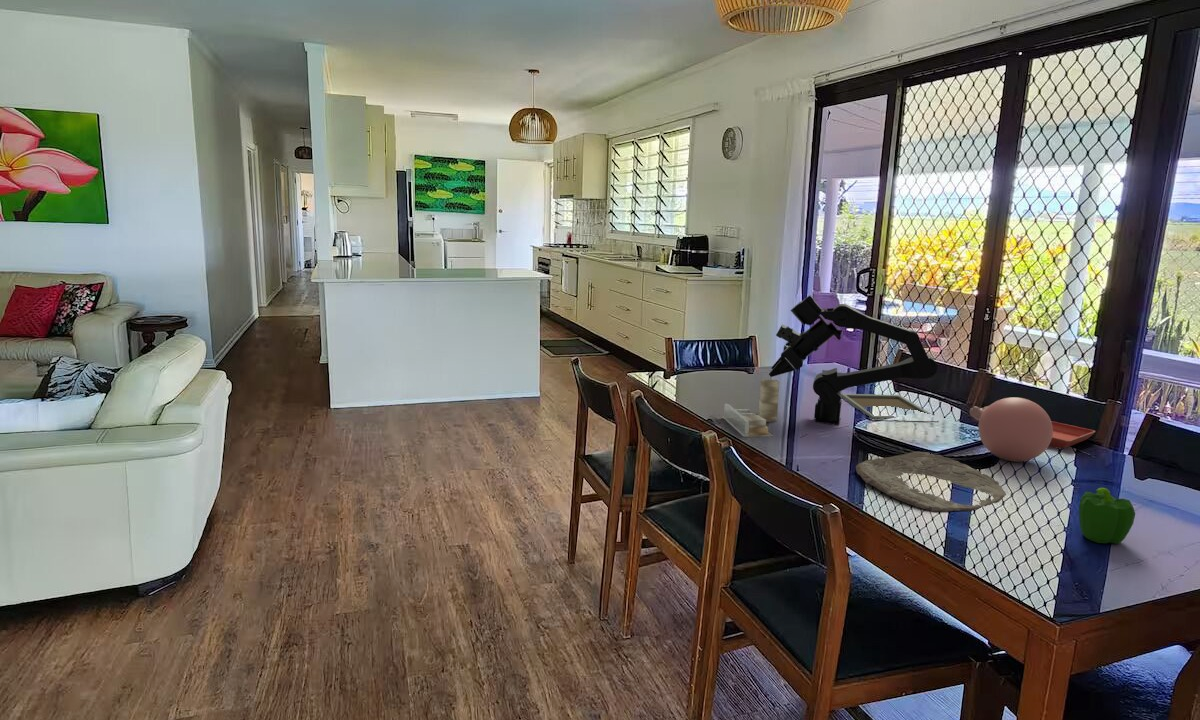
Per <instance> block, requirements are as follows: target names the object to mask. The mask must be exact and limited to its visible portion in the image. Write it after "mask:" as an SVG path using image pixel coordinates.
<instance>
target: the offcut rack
mask: <svg viewBox="0 0 1200 720" xmlns="http://www.w3.org/2000/svg"><path fill="white" fill-rule="evenodd" d="M723 411H724V415H723V416H722V419H723V420H725V421H726V422H727V423H728V424H729V425H731V427H732V428H733V429H734V430H736V431H737V432H738V433H739V434H740V435H741V436H742V437H744V438H747V437H749V438H750V437H774V435H773V434H772V433H770V432H769V431H768V434H758V435H749V421H748V420H747V419H746V418H745V417H744V416H742V415H756V413H754V412H753V413H751V412H750V408H749V409H748V408H743V409H740V408H738V409H736V408H734V407H733V406H732V405H730V404H729V403H724V410H723Z"/></svg>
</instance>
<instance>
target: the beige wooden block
mask: <svg viewBox="0 0 1200 720" xmlns="http://www.w3.org/2000/svg"><path fill="white" fill-rule="evenodd" d="M780 383H781V382H780V380H777V379H760V389H759V403H758V415H759V416H760V417H762V418H764V419H765V420H766V422H777V420H778V411H779V410H778V408H779V407H778V406H779V395H780V394H779V393H780Z"/></svg>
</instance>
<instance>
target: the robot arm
mask: <svg viewBox="0 0 1200 720" xmlns="http://www.w3.org/2000/svg"><path fill="white" fill-rule="evenodd" d="M790 312H791V313H792V314H793V316H795V317H796V319H797V320H798V321H799V322H800V323H801V324H802V325H803V326H805V325H807V326H810V328H809V329H807V330H805V331H801V332H798V331H796V330H794V328H791V327H789V326H787V325H785V324H781V325H780V327H779V329H778V331H777V332H776V334H775V336H776V337H777V338H780V339H783V340H785V341H786V343H785V345H784V346H783V351H782V352H781V353H780V357H778V359H777V360H776V361H775V363H774V364H773V365H772V366H771V371H770V372H769V373H768V375H769V377H770V378H773V377H776V376H779V375H783V374H788V373H791V372H795V371H798V370H800V369H801V368H803V366H804V361H806V360H807V357H809V356H810V355H812V353H814V352H817V351H818V350H819V348H821V346H823V345H824V344H825V343H826V342H828V341H829V340H830V339H831V338H832V337H835V338H836V339H837V340H838V341H841V339H842V338H841V336H842V332H843V330H842V329H841V328H844V329H845V328H846V329H852V330H861V331H862V330H863V331H866V332H869V333H872V334H875V335H878V336H880V337H884V338H886V339H887V338H888V339H889V340H894V341H896V342H899V343H901V344H904V345H906V347H907V349H908V352H909V354H910V355H911V357H908V358H906V359H903V360H902V361H899V362H897V363H893V364H886V365H881V366H877V367H870V368H866V369H861V370H860V369H859V370H855V371H850V372H838V367H835V368H832V369H828V370H827V369H826V370H825V369H822V371H821V372H820V373H818V374H817V375H815V377H814V379H813V382H812V390H813V392H814V394H816V395H817V396H818V398H817V402H815V405H814V417H813V418H814V419H815V420H814V421H815V423H821V424H829V425H837V426H839V425H840V424H841V420H842V419H841V418H842V417H841V414H842V412H841V411H842V401H843V400H842V397H841V394H842V391H844V390H846V389H849V388H854V387H859V386H864V385H869V384H877V383H881V382H882V383H883V382H886V381H893V380H898V379H908V380H927V379H931V378H933V377H934V376H935V375H936V374H937V371H938V365H937V362H936V361H935V359H934V358H933V357H932V356H931V355H929V354H927V351H926V350H925V347H924V346H923V344H922V342H921V339H920V335H919V334H918V332H917V331H916V330H914V329H908V328H905V327H902V326H899V325H895V324H893V323H890V322H886V321H884V320H880V319H878V318H874V317H872V316H868V315H867V314H865V313H863V312H861V311H860V310H858V309H856V308H854V307H852V306H850V305H849V304H846V303H840V304H838V305H836V306H834V307H832V308H830V307H829V308H826V307H825V308H821V307H820V305H819V304H818V303H817V302H816V300H815V299H814V298H813V296H812V295H810V294H809V295H808V296H807V297H805V298H804V299H802V300H801V301H799V302H797V304H796V305H794V306H793V307H792V308H791V309H790ZM826 320H827V321H830V322H827V321H826ZM815 322H816V323H815ZM812 324H813V325H812ZM811 325H812V326H811ZM836 326H837V327H841V328H840V329H839V328H837V327H836Z"/></svg>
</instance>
